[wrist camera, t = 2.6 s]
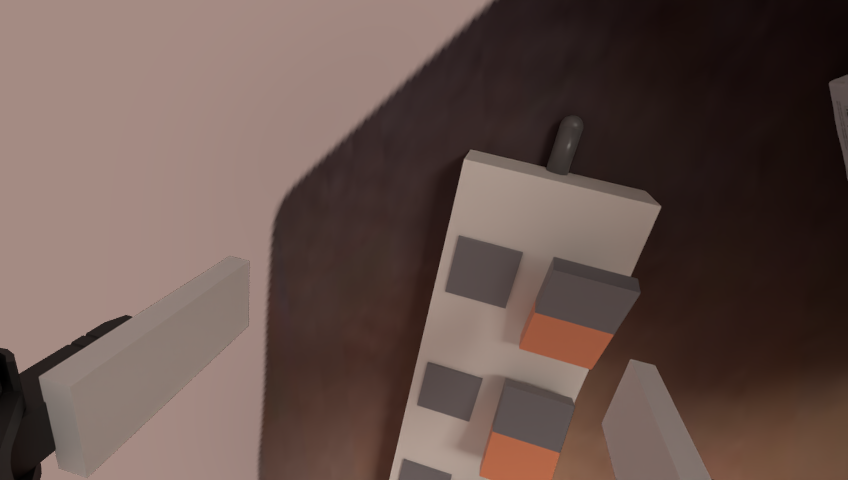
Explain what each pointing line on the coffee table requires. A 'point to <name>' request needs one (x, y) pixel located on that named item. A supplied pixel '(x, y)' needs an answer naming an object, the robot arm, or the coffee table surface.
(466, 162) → the power strip
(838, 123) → the tea box
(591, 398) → the coffee table surface
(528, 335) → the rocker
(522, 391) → the rocker middle
